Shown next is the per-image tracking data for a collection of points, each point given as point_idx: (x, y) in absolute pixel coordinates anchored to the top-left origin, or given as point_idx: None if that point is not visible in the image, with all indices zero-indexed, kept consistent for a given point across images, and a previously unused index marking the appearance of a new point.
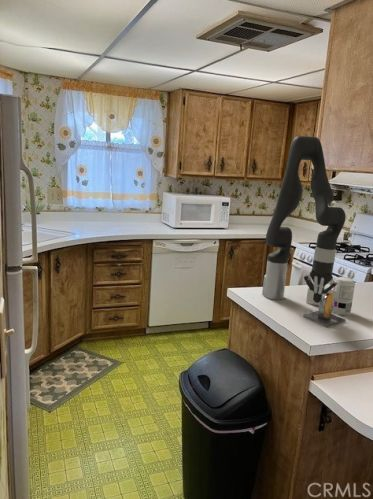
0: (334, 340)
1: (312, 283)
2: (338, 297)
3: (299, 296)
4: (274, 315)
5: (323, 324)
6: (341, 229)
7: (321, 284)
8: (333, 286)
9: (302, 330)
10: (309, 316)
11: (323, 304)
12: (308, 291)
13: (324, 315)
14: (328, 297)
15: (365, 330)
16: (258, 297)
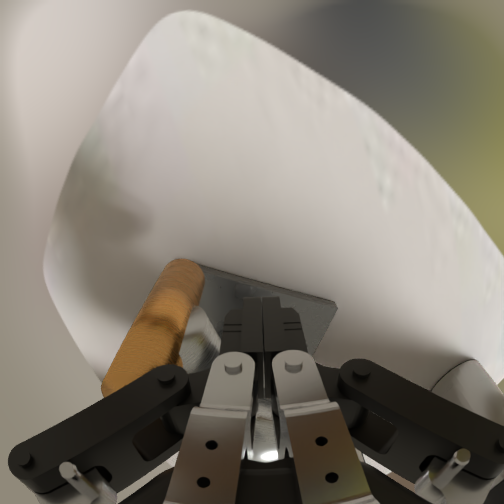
0: (103, 131)
1: (372, 454)
2: None
3: None
4: (442, 219)
5: (211, 271)
6: None
7: (206, 465)
8: (36, 443)
9: (273, 121)
10: (304, 308)
11: (200, 313)
12: (360, 458)
13: (190, 265)
14: (138, 350)
15: (80, 337)
16: (493, 341)
